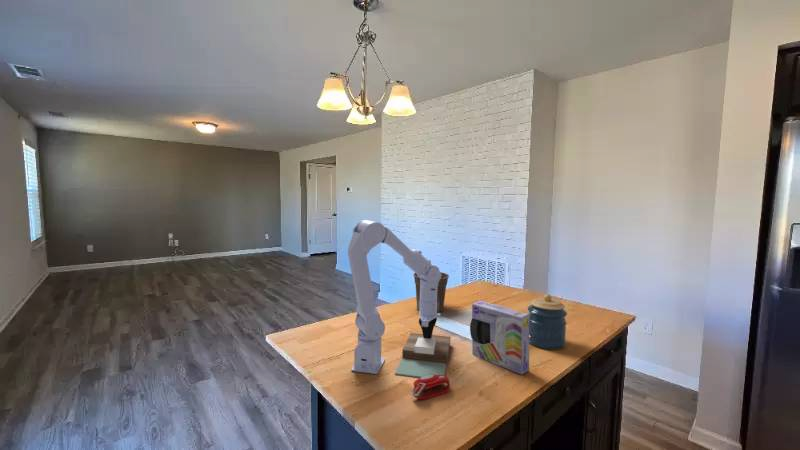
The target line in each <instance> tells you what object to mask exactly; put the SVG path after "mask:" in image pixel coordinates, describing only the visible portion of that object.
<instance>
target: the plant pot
mask: <svg viewBox="0 0 800 450" xmlns="http://www.w3.org/2000/svg"><path fill="white" fill-rule="evenodd" d="M440 273H441V274H442V276H441V279H440V280H439V282H438V286H437V312H438V313H441V312H443V311H444V307H445V306H444V305H445V299H446V292H447V291H446V290H447V285H448V280H449V278H450V275H449V274H448V273H445V272H442V271H440ZM412 275H413V278H414V284H415V295H416V296H415V297H416V298H415V299H416V300H415V301H416V309H417V310H418V311H419V312H420V279H421V278H418V276H417V274H416V273H415V272H414V273H413V274H412ZM442 310H443V311H442ZM440 311H441V312H440Z"/></svg>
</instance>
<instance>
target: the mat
mask: <svg viewBox="0 0 800 450" xmlns="http://www.w3.org/2000/svg"><path fill="white" fill-rule="evenodd" d="M446 369H447V364H445V363H437V362H428V361H420V360H412V359H403V358H401V360H400V362H399V363H398V365H397V368H396V370H395V373H394V375H397V376H403V377H405V376H406V377H410V378H411V377H413V378H417V379H419V378H420V377H422V376H425V375H430V374H431V375H445V374H446ZM445 376H446V375H445Z"/></svg>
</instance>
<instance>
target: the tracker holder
mask: <svg viewBox="0 0 800 450" xmlns="http://www.w3.org/2000/svg"><path fill="white" fill-rule="evenodd" d="M442 384H446V386H445V388H442V389H439V390H437V391H434V392H431V393H428V394H424V395H420V394H422V393H424V390H425V391H426V390H431V389H432V388H435V387H437V386H439V385H442ZM413 386H414V388H413V389H412V393H411V396H412V397H415V398H416V399H419V400H428V399H431V398H434V397H437V396H440V395H444V394H447V392H448V391H449V389H450V387H451V386H450V379H449V377H448V376H446V375H431V374H430V375H425V376H422V377H420V378H417V379H416V380H415V381H413Z"/></svg>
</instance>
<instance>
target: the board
mask: <svg viewBox="0 0 800 450" xmlns="http://www.w3.org/2000/svg"><path fill="white" fill-rule="evenodd" d="M418 337H419V338H423V333H415V332H410V334H409V336H408V337H407V340H406V341H405V344H404V346H403V347H402V352H401V353H402V354H401V355H402V356H401V357H402V358H403V359H412V360H420V361H428V362H437V363H445V364H446V365H447V363H448V358H449V352H450V348H451V336H447V335H446V336H445V335H435V334H432V337H431V339H436V348H435V352H434V355H433V354H424V353H415V344H416V342H417V340H418ZM402 358H401V359H402Z"/></svg>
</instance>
